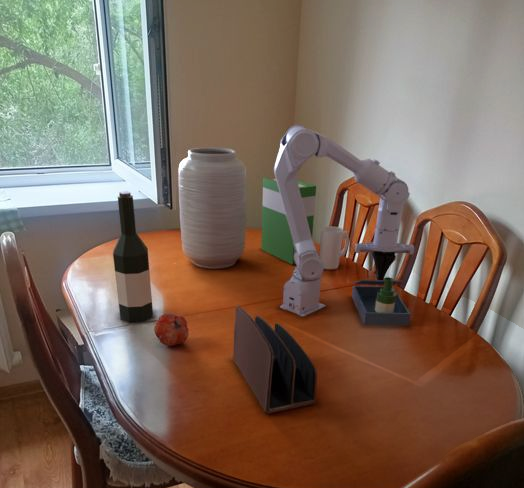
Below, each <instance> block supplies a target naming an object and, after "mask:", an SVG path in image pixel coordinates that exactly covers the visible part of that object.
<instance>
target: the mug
mask: <svg viewBox="0 0 524 488" xmlns="http://www.w3.org/2000/svg"><path fill="white" fill-rule="evenodd" d="M343 238H344V241H345V242H344V246H343V248H342V242H343ZM349 242H350V238H349V234H348V231H347V230H344V229H343V228H342V227H339V226H332V225H331V226H330V225H328V226H327V225H326V226H323V227H321V228H320V241H319V254H318V256H319V257H320V259H321V260H322V261H323V264H324V270H336V269H338V268H339V267H340V266H339V265H340V258H341V257H345V255H346V253H347V250H348V247H349Z"/></svg>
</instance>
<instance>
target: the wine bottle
mask: <svg viewBox="0 0 524 488" xmlns="http://www.w3.org/2000/svg"><path fill="white" fill-rule="evenodd" d="M118 194H119V195H117V202H118V203H117V204H118V213H119V225H120V232H121V233H120V236H119V238H118V240H117V242H116V244H115V246H114V248H113V251H112V258H113V266H114V276H115V283H116V291H117V300H118V308H119V309H118V310H119V318H120V320H121V321H124V322H127V323H128V324H129V323H130V324H133V323H134V324H135V323H145V322H146V321H149V320H150V319H153V318H154V312H153V311H154V309H153V298H152V297H153V296H152V286H151V273H150V261H149V259H150V258H149V249H148V248H149V247H147V245H146V244H145V243H144V240H142V238H141V237H140V236H139V234H138V233H137V227H136V218H135V217H136V216H135V207H134V196H133V195H131V194H132V193H131V191H125V190H124V191H119V192H118Z"/></svg>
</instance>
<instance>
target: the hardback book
mask: <svg viewBox="0 0 524 488" xmlns="http://www.w3.org/2000/svg"><path fill="white" fill-rule="evenodd" d="M297 182H298V186H299V190H300V194H301V198H302V202H303V205H304V209H305V213H306V217H307V221H308V225H309V229H310V233H311V237H312V238H313V232H314V221H315V207H316V197H317V196H316V193H317V185H314V184H311V183H308V182H304V181H301V180H298V179H297ZM261 206H262V209H261V241H260V243H261V245H260V249H261V250H262V251H264V252H266V253H267V254H270V255H272V256H274V257H276V258H278V259H280V260H282V261H284V262H286V263H288V264H289V265H292V266H293V265H296V263H295V262H294V258H293V256H294V250H295V249H294V245H293V239H292V235H291V232H290V228H289V224H288V221H287V217H286V214H285V210H284V206H283V203H282V199H281V195H280V192H279V188H278V185H277V181H276V178H268V177H263V178H262V205H261Z"/></svg>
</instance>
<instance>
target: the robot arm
mask: <svg viewBox="0 0 524 488" xmlns="http://www.w3.org/2000/svg"><path fill="white" fill-rule="evenodd" d="M314 156H315V157H316V158H326V157H327V158H329V159H331V160H332V161H334V162H336V163H337V164H339V165H341V166H342V167H344V168H345V169H347V170H349V171H350V172H352V173H353V178H354V181H355V182H356V183H358V184H359V185H361V186H362V187H364V188H366V189H367V190H368V191H370V192H372V193H373V194H374V195H378V197H379V203H378V209H377V216H376V222H375V230H374V237H373V241H372V242H360V243H358V242H356V243H354V244H355V245H354V252H355V253H356V254H360V253H370V254H371V256H372V259H373V263H374V267H375V280H384V278H386V274H387V272H388V271H389V269H390V267H391V266H392V264H393V263H394V262H395V261H396V258H397V256H396V254H408V255H414V253H415V252H414V251H415V245H413V244H407V243H400V242H399V243H398V240H399V233H400V228H401V221H402V215H403V209H404V204H405V203H406V202H407V201H408V199H409V197H410V194H411V193H410V191H409V187H408V184H407V183H406V181H404V180H402V179H401V178H398V177H397V176H396V173H395V172H394V171H392V170H390V171H389V170H387V169H385V168H384V167H383V166H381V165H380V164H381V162H380V161H379V160H377V159H376V158H373V160H372V159H371V158H366V159H359V158H358V157H356V156H355V155H354V154H353V153H351V152H350V151H348V150H347V149H346V148H344V147H342V146H341V145H340V144H339V143H337V142H335V141H334V140H333V139H331V138H330V137H328V136H326V135H324V134H321V133H320V132H317V131H315V130H311V129H309V128H308V127H306V126H305V125H303V124H294V125H292V126H290V128H288V130H287V131H286V132H285V134H284V135H283V136H282V137H281V139H280V143H279V149H278V153H277V156H276V159H275V163H274V165H273V166H274V167H273V173H274V177H275V179H276V181H277V185H278V188H279V192H280V195H281V199H282V203H283V206H284V210H285V214H286V217H287V221H288V224H289V228H290V232H291V235H292V239H293V245H294V249H295V250H294V256H293V258H294V262H295V263H296V264H295V265H296V266H295V268H294V270H293V271H292V276H291V277H290V279H289V280H287V281H286V282H285V284H284V285H283V295H282V304H281V305H280V306H279V308H280V309H282V310H284V311H289V312H292V313H294V314H295V315H298V316H300V317H305V316H308V315H310V314H312V313H315V312H316V311H319V310H321V309H323V308H324V307H326V304H324V303H321V302H320V295H321V294H320V293H321V284H322V274H323V272H324V270H325V269H324V264H323V261H322V260H321V259H320V257H319V254H318V251H317V249H316V246H315V243H314V240H313V236H312V237H311V233H310V229H309V225H308V221H307V217H306V213H305V209H304V205H303V202H302V198H301V194H300V190H299V186H298V182H297V180H298V178H297V175H298V173H299V172H300V170H301V169H302V167H303V165H305V163H307V162H308V161H310V159H311V158H313V157H314Z"/></svg>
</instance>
